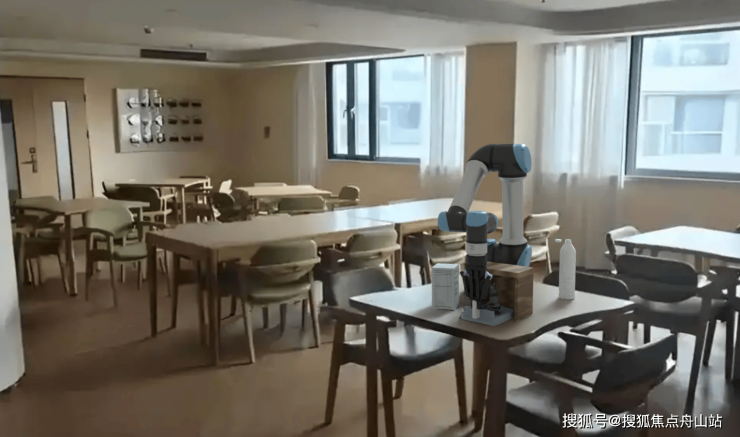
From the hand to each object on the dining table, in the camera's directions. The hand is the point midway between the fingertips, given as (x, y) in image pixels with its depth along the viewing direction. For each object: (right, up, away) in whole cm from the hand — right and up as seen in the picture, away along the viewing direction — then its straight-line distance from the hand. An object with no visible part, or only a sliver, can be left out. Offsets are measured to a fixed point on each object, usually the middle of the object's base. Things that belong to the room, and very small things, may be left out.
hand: (475, 317), depth 240 cm
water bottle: (+43, +3, +35) cm, 55 cm away
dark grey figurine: (+8, 0, +10) cm, 13 cm away
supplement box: (-8, +1, +24) cm, 25 cm away
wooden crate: (+12, 0, +14) cm, 19 cm away
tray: (+7, -1, +8) cm, 10 cm away
